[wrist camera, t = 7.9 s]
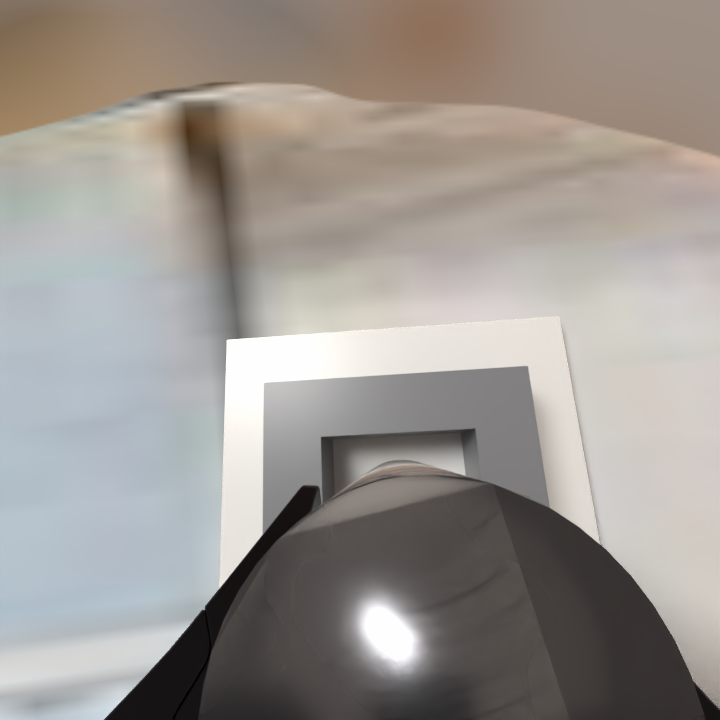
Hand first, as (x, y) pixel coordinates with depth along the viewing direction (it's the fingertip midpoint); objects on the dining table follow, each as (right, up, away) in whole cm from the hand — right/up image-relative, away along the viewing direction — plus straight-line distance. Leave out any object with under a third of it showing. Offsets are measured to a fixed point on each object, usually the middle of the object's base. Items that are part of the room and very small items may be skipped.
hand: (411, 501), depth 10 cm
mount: (+1, -4, +11) cm, 11 cm away
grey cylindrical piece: (0, -3, +6) cm, 7 cm away
